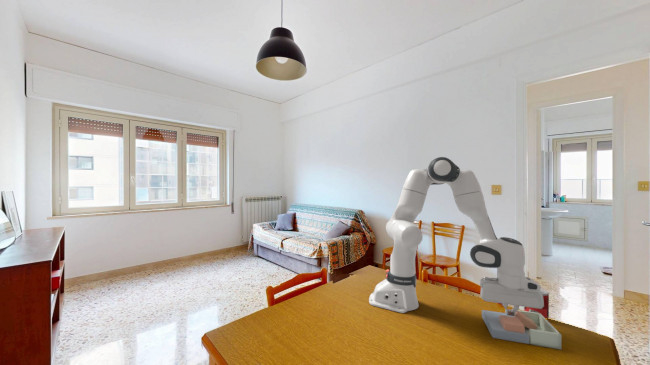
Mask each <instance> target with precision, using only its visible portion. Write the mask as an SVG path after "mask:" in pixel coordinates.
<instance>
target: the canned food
mask: <svg viewBox="0 0 650 365" xmlns="http://www.w3.org/2000/svg"><path fill="white" fill-rule="evenodd" d="M540 291H541V292H542V294H543V300H544V307H543V308H542V309H538V308H531V307H523V309H524V310H523V311H528V312H536V313H540V314H541V315H542V316H543V317H544V318H547V319H548V320H549V317H550V314H549V310H550V304H549V303H550V296H549V295H550V294H549V291H547V290H545V289H543V288H541V289H540Z"/></svg>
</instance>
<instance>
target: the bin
mask: <svg viewBox="0 0 650 365" xmlns="http://www.w3.org/2000/svg"><path fill="white" fill-rule="evenodd" d="M518 311H519V312H521V313H522V314H524V315H526V316H528V317H529V318H531V319H532V320H533V322H534V323H535V324H536V325H537V326H538V327H537V328H536V330H535V329H528V328H527V327H525V331H526V332H527V333H528V334H529V344H530V345H531V346H538V347H543V348H545V347H546V348H551V349H556V350H562V334H561V333H560V331H558V330H557V329H556V327H555V326H553V324H552V323H551V322H549V320H546V319H545V318H544V317H543V316H542V315H541V314H540V313H536V312H528V311H524V310H520V309H518Z"/></svg>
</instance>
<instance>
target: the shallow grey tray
mask: <svg viewBox="0 0 650 365" xmlns="http://www.w3.org/2000/svg"><path fill="white" fill-rule="evenodd" d="M499 315H503V316H510V315H506V313H505V312H500V311H499V312H498V311H493V310H485V309H482V310H481V318H482V320H483V322H484V325H485V326H486V327H487V329H488V332H489V334H490V335H491V337H492V338H493V339H497V340H498V339H499V340H504V341H508V342H509V341H510V342H515V343H522V344H527V345H529V344H530V343H529V334H528V333H527V332H526V331H525V333H520V332H514V331H508V330H504V328H503V327H502V325H501V323H500V322H499ZM510 317H513V316H510Z"/></svg>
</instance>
